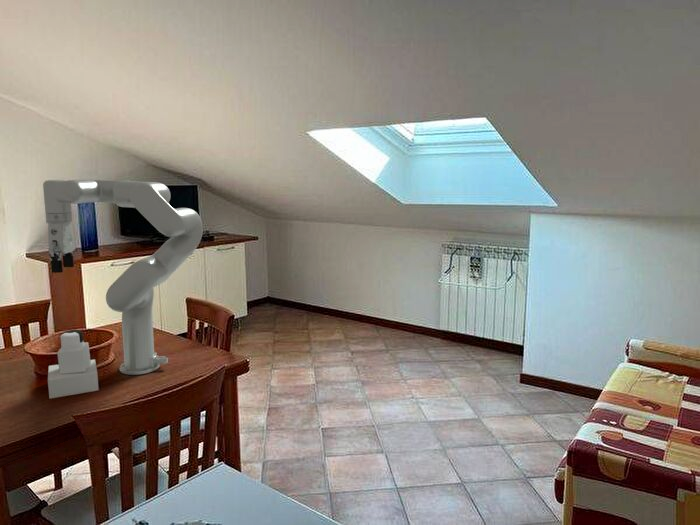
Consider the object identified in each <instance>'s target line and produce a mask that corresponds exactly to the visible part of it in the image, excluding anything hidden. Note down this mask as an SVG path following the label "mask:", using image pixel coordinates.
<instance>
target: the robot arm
mask: <svg viewBox="0 0 700 525" xmlns="http://www.w3.org/2000/svg"><path fill="white" fill-rule="evenodd" d="M42 189H43V200H44V201H43V202H44V211H45V212H44V213H45V222H46V224H47V227H48V228H47V233H48V234H47V235H48V236H47V240H48V252H49V261H50V267H51V273H52V274H53V273H57V274H58V273H59V274H60V273H63V272H64V268H74V267H75V261H74V260H75V259H74V251H75V249H76V241H75V234H74V228H73V224H72V223H73V213H72V211H73V210H72V204H85V203H105V204H107V203H108V204H115V205H117V206H118V207H121V208H133V209H136V210H137V211H138V212H139V213H140V214H141V216H143V217H144V218H145V219H146V221H148V222H149V223H150V224H151V226H153V227H154V228H155V229H156V230H157V231H158V232H159V233H161V234H162V235H164V236H165V237H168V239H167V240H166V241H165V242H164V243H163V244H162V245H161V246H160V247H159V248H158V249H157V250H155V252H154V253H153V254H151V255H149V256H147V257H143V258H142V259H139V260H137V261H135V262H133V263H132V264H131V265H130V266H129V267H127V268H126V269H125V271H124V272H123V273H122V274H121V275H120V276H119V277H117V279H116V280H115V281H114V282H113V283H112V284H111V285H110V286H109V287H108V289H107V291H106V294H105V302H106V304H107V307H109V309H111V310H112V311H114V312H117V313H121V332H122V346H123V347H122V348H123V362H124V363H122V364H121V365H119V372H120V373H122V374H124V375H131V376H139V375H145V374H149V373H151V372H154V371H156V370H158V369H159V368H160V364H168V361H169V359H168V357H166V355H157V354H158V353H157V351H155V343H154V342H155V341H154V325H153V324H154V321H153V319H154V318H153V306H154V305H153V304H154V297H155V295H154V294H155V290H154V288H155V287H157V286H159V285H162V284H163V283H165V282H166V281H167V280H168V279H170V277H171V276H172V275H173V273H174V272H176V271H177V270H178V269H179V268H180V266H181V265H182V264H183V263H184V262H185V261H186V260H187V259H188V258H189V257H190V256H192V254H193V253H194V252H195V250H196V249H197V248H198V246H199V244H200V243H201V240H202V239H203V238H202V237H203V233H204V232H203V231H204V229H203V228H204V227H203V226H204V225H203V222H202V218H201V216H200V215H199V214H198V211H195V210H194V209H192V208H188V207H177V208H174V207H172V206H171V205H170V201H171V191H170V188H168V186H166V185H165V184H164V183H162V182H158V181H143V180H142V181H139V180H123V179H122V180H119V179H118V180H104V179H71V180H70V179H68V180H64V179H48V180H45V181H44V182H43V184H42Z"/></svg>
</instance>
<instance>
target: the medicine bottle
mask: <svg viewBox="0 0 700 525" xmlns="http://www.w3.org/2000/svg"><path fill="white" fill-rule="evenodd" d="M59 338H60V346H61V347H60V348H59V349H58V351H57V352H56V354H57V355H56V356H57V363H58V364H57V365H59V372H60V374H68V373H79V372H85V371H86V369H87V368H88V366H89V365H90V363H91V361H90V360H91V353H90V346H89V342H84V334H83V331H82V330H79V329H70V330H65V331H64V332H61V334H60V336H59Z"/></svg>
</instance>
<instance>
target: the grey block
mask: <svg viewBox="0 0 700 525" xmlns="http://www.w3.org/2000/svg"><path fill="white" fill-rule="evenodd" d="M90 361H91V363H90V365H89V366H88V368H87V369H86V371H85V372H79V373H68V374H60V372H59V364H52V365H48V371H47V372H48V374H47V387H48V397H49V399H56V398H61V397H67V396H73V395H79V394H84V393H90V392H96V391H99V390H100V388H99V378H98V370H97V363H96V359H90Z"/></svg>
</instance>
